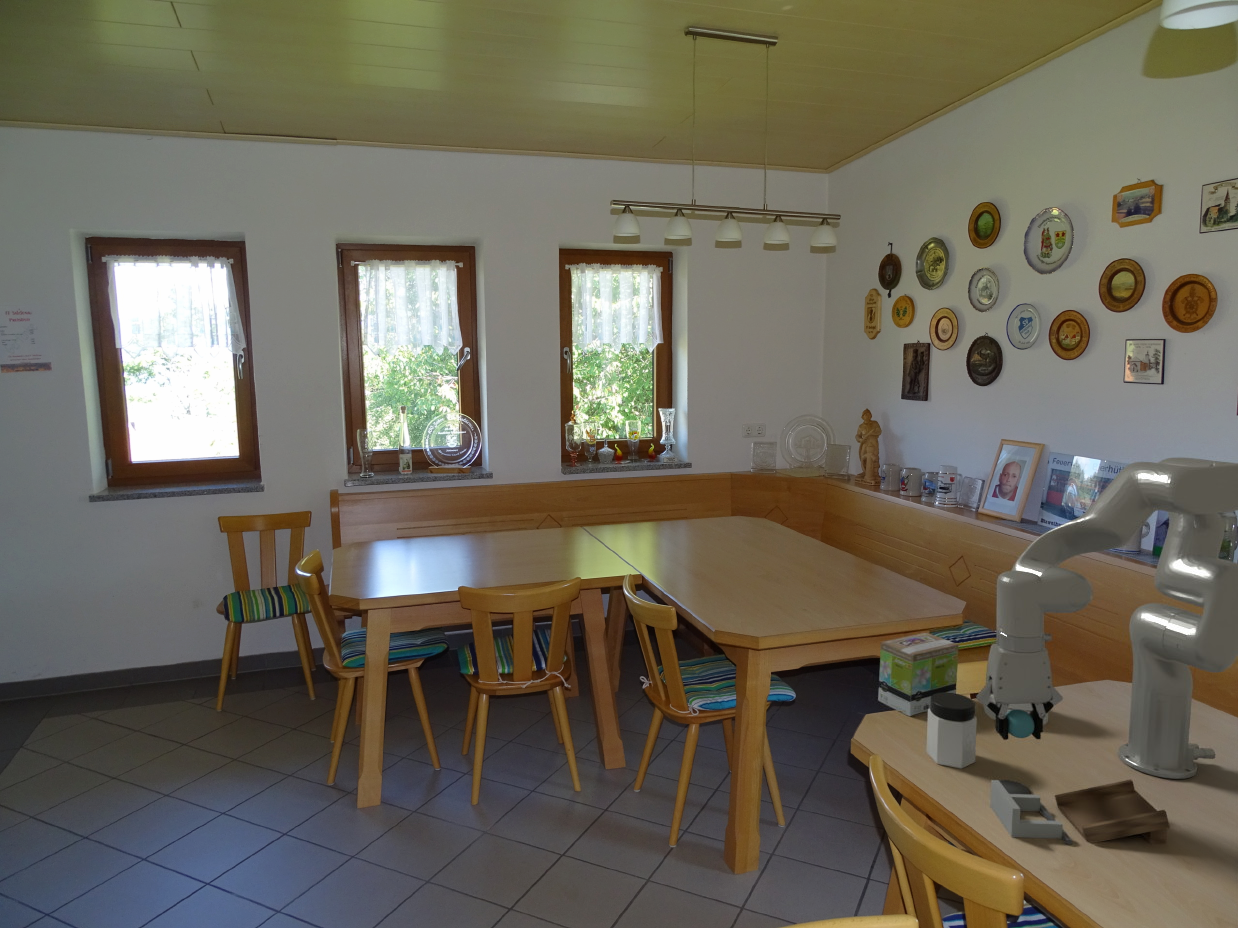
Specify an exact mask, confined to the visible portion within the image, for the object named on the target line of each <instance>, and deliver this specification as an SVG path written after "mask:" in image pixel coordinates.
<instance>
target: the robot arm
mask: <svg viewBox="0 0 1238 928" xmlns="http://www.w3.org/2000/svg"><path fill="white" fill-rule="evenodd" d="M1157 511H1162V512H1167V514H1168V520H1169V521H1168V523H1169V524H1168V529H1167V533H1166V536H1165V540H1164V543H1163V546H1162V549H1161V553H1160V556H1159V560H1158V561H1157V565H1156V569H1155V573H1154V580H1153V581H1154V587H1155V588H1156V590H1157V591H1158V592H1159V593H1160V594H1162V595H1163V596H1165V597H1168V598H1170V599H1172V600H1175V601H1178V602H1181V603H1185V604H1189V605H1193V606H1195V607H1200V608H1202V609H1203V612H1202V614H1199V613H1194V612H1193V611H1189V610H1188V609H1187V610H1186V609H1182V608H1180V607H1176V606H1172V605H1169V604H1166V603H1165V604H1164V603H1156V602H1151V603H1150V602H1149V603H1145V604H1143V605H1140V606H1139V607H1137V608H1136V609H1135V610H1134V611H1133V613H1132V614H1131V617H1130V619H1129V625H1128V626H1129V628H1128V629H1129V630H1128V631H1129V637H1130V642H1131V643H1130V644H1131V649H1132V665H1133V666H1132V682H1131V695H1130V697H1131V699H1130V711H1129V712H1130V713H1129V726H1128V728H1129V729H1128V741H1127V743H1123V744H1121V745H1119V747H1118V752H1117V753H1118V754H1117V755H1118V757H1119V758H1120V760H1121V761H1122V762H1123V763H1125V764H1126V765H1127V766H1128V767H1131V768H1132V769H1135V770H1136V771H1139V772H1142V773H1145V774H1148V775H1151V776H1154V777H1160V778H1164V779H1175V780H1180V779H1181V780H1184V779H1189V778H1191V777H1194V776H1195V775H1196V774H1197V771H1198V765H1197V764H1196V762H1195V761H1197V760H1198V759H1203V760H1213V759H1214V760H1215V759H1216V752H1215V749H1213V748H1210V747H1209V748H1208V747H1201V748H1200V746H1199V744H1198V743H1189V741H1190V728H1191V727H1190V726H1191V713H1192V700H1193V699H1192V698H1193V689H1194V687H1193V686H1194V684H1193V675H1192V671H1191V669H1190V667H1192V668H1196V669H1198V670H1201V671H1204V672H1208V673H1221V672H1224V671H1226V670H1228V669H1230V668H1231V666H1233V665H1234V663H1235V661H1236V660H1237V658H1238V563H1237V562H1234V561H1230V560H1226V559H1222V558H1220V557H1219V555H1220V551H1221V547H1222V543H1223V540H1224V535H1225V528H1224V524H1223V520H1222V518H1221V516H1220V514H1219V513H1228V512H1229V513H1230V512H1236V511H1238V463H1237V462H1230V461H1229V462H1228V461H1221V460H1219V461H1218V460H1208V459H1202V458H1193V457H1168V458H1163V459H1162V460H1159V462H1152V461H1151V462H1150V461H1135V462H1132V463H1129V464H1127V465H1126V466H1125V467H1123V468H1122V469H1121V470H1120V471H1119V472H1118V474H1116V476H1115V477H1114V478H1113V479H1112V481H1111V482H1110V483H1109V484H1108V485H1107V486H1106V487H1105V489H1104V490H1103V491H1102V492H1101V493H1100V494H1099V496H1098V497H1097V498H1096V500H1095V501H1094V502H1093V503H1091V505H1090V506H1089V507H1088V508H1087V509H1086V511H1085V512H1083V514H1082V515H1081V516H1079V517H1076V518H1075V519H1072V520H1069V521H1066V522H1064V523H1063V524H1060V525H1058V526H1056V527H1054V528H1052V529H1050V530H1049V531H1047V532H1044V533H1043V534H1041V535H1039V537H1036V539H1035V540H1034V541H1033V542H1031V543H1030V544H1029V545H1028V546H1027V547H1026V549H1025V550H1024V551H1023V552H1022V554H1021V555H1020V556H1019V557H1018V558H1017V559H1016V561H1015V562H1014V564H1013V565H1012V568H1011V570H1007V571H1004V572H1002V573H1000V574H999V575H998V577H997V579H996V640H995V641H996V642H995V643H993V644H991V645H990V650H989V654H988V659H987V665H986V672H985V673H986V675H985V685H984V686H983V687H982V689H981V690H980V691H979V692H978V694H977V695H976V699H977V700H978V702H979V703H981V704H982V705H983V706H984V705H985V706H986V707H988V708H989V709H990V710H991V711H992V712H993V713H995V723H994V724H995V725H994V726H995V732H996V733H997V734H999V736H1000V737H1001V738H1002V739H1003V740H1004V741H1007V740H1008V739H1009V733H1008V727H1009V721H1008V719H1007V718H1006V713H1007V710H1008V707H1009V704H1025V703H1031V706H1032V709H1033V710H1032V711H1030V713H1029V715H1030V716H1031V717H1032V719H1033V721H1034V725H1035V727H1034V731H1033V733H1032V734H1031V735H1032V737H1033V738H1034V739H1036V740H1041V739H1042V735H1041V734H1042V733H1043V732H1044V731H1043V730H1044V725H1043V718H1045V717H1046V714H1047V713H1048V714H1049V712H1050V711H1051V710H1052V709H1053V708H1054V706H1056V705H1058V704H1059V703H1061V702H1062V701H1063V699H1064V697H1063V696H1062V695H1061V694H1060V692H1059V691H1058V690H1057V689H1056V688H1055V687H1054V686H1053V680H1052V679H1053V678H1052V677H1053V676H1052V669H1051V663H1050V657H1049V654H1048V653H1049V652H1048V649H1047V648H1046V646H1045V645H1046V644H1045V643H1047V642H1051V641H1052V635H1051V633H1046V632H1045V631H1044V628H1045V627H1044V625H1045V623H1044V621H1045V619H1044V618H1045V614H1048V613H1050V614H1051V613H1054V614H1055V613H1056V614H1069V613H1072V614H1073V613H1076V612H1079V611H1081V610H1083V609H1085V608H1086V607H1087V606H1088V605H1090V602H1091V601H1092V599H1093V596H1094V590H1093V589H1094V588H1093V586H1092V584H1091V582H1090V581H1089V580H1088V578H1086V576H1084V575H1082V574H1080V573H1078V572H1077V571H1073V570H1070V569H1067V568H1063V567H1061V566H1059V565H1061V564H1062V563H1063V562H1065V561H1067V560H1069V559H1071V558H1074V557H1076V556H1079V555H1083V554H1084V555H1085V554H1090V553H1097V552H1104V551H1110V550H1115V549H1120V548H1122V547H1125V546H1126V545H1128V543H1129V542H1130V541H1131V540H1132V539H1133V538H1134V536H1135V535H1136V534H1137V533H1138V531H1140V529H1141V528H1142V527H1143V525H1144V524H1145V523H1146V522H1147V521H1148V520H1149V518H1151V516H1152V515H1153V514H1154V513H1155V512H1157ZM991 694H992V695H994V700H995V703H993V702H992V701H991V700H989V699H988V698H989V696H990V695H991Z"/></svg>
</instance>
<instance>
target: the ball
mask: <svg viewBox="0 0 1238 928" xmlns="http://www.w3.org/2000/svg"><path fill="white" fill-rule="evenodd" d="M1006 718H1007V719H1008V721H1009V727H1008V735H1010V736H1013V737H1014V738H1017V739H1025V738H1029V737H1030V736H1031V735H1032V733H1033V731H1034V727H1035V725H1034V721H1033V719H1032V717H1031V716H1030V715H1029V714H1028V713H1027V712H1025V711H1023V710H1019V709H1014V710H1011V711H1009V712H1008V713H1007V714H1006Z"/></svg>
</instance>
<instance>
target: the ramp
mask: <svg viewBox="0 0 1238 928" xmlns="http://www.w3.org/2000/svg"><path fill="white" fill-rule="evenodd" d="M1054 798H1055V803H1056V807H1057V808H1058V811H1060V812H1061V813H1062V815H1063V816H1064V817H1065V818H1066V819H1067V820H1068V822H1070V824H1071V825H1072V826H1073V827H1074V828H1075V830H1076V831H1077V832H1078V834H1080V836H1081V837H1082V838H1083V840H1085V841H1086V842H1088V843H1090V842H1091V843H1099V842H1104V841H1109V840H1114V839H1120V838H1125V837H1129V836H1133V835H1134V836H1135V835H1140V834H1141V836H1143V838H1144V839H1146V840H1147V842H1148V843H1149V844H1166V843H1167V829H1169V828H1170V823H1169V818H1168V815H1167V811H1166V810H1165V809H1161V810H1157V809H1156V808H1155V807H1154V806H1153V805H1152V804H1151V803H1150V802H1149V801H1148V800H1147V799H1145V798H1144V796H1142V795H1141V794H1140V793H1139V792H1138V791H1137V790H1136V789H1135V785H1134V781H1133V780H1132V779H1126V780H1122V781H1121V780H1120V781H1118V782H1117V781H1116V782H1113V783H1108V784H1103V785H1097V786H1093V787H1088V788H1084V789H1083V788H1082V789H1079V790H1077V789H1076V790H1073V791H1069V792H1063V793H1059V794H1055V795H1054Z"/></svg>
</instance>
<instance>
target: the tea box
mask: <svg viewBox="0 0 1238 928" xmlns="http://www.w3.org/2000/svg"><path fill="white" fill-rule="evenodd" d="M880 644H881V645H880V658H879V661H880V662H879V673H878V674H879V675H878V676H879V679H878V680H879V681H878V695H877V697H878V699H877V701H879V702H880V703H882V704H884V705H886V706H888V707H889V708H892V709H893V710H896V711H897V712H900V711H904V712H903V713H902V714H904V715H906V716H908V717H912V716H914V715H918V714H921V713H923V712H928V709H930V700H931V696H932V695H934V694H936V693H944V692H947V693H956V694H957V682H958V676H957V675H958V660H959V644H958V643H956V642H952V641H950V640H948V639H944V638H942V637H940V636H937V635H934V634H931V633H928V632H922V633H917V634H913V635H907V636H902V637H899V638H893V639H889V640H885V641H881V643H880Z"/></svg>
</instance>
